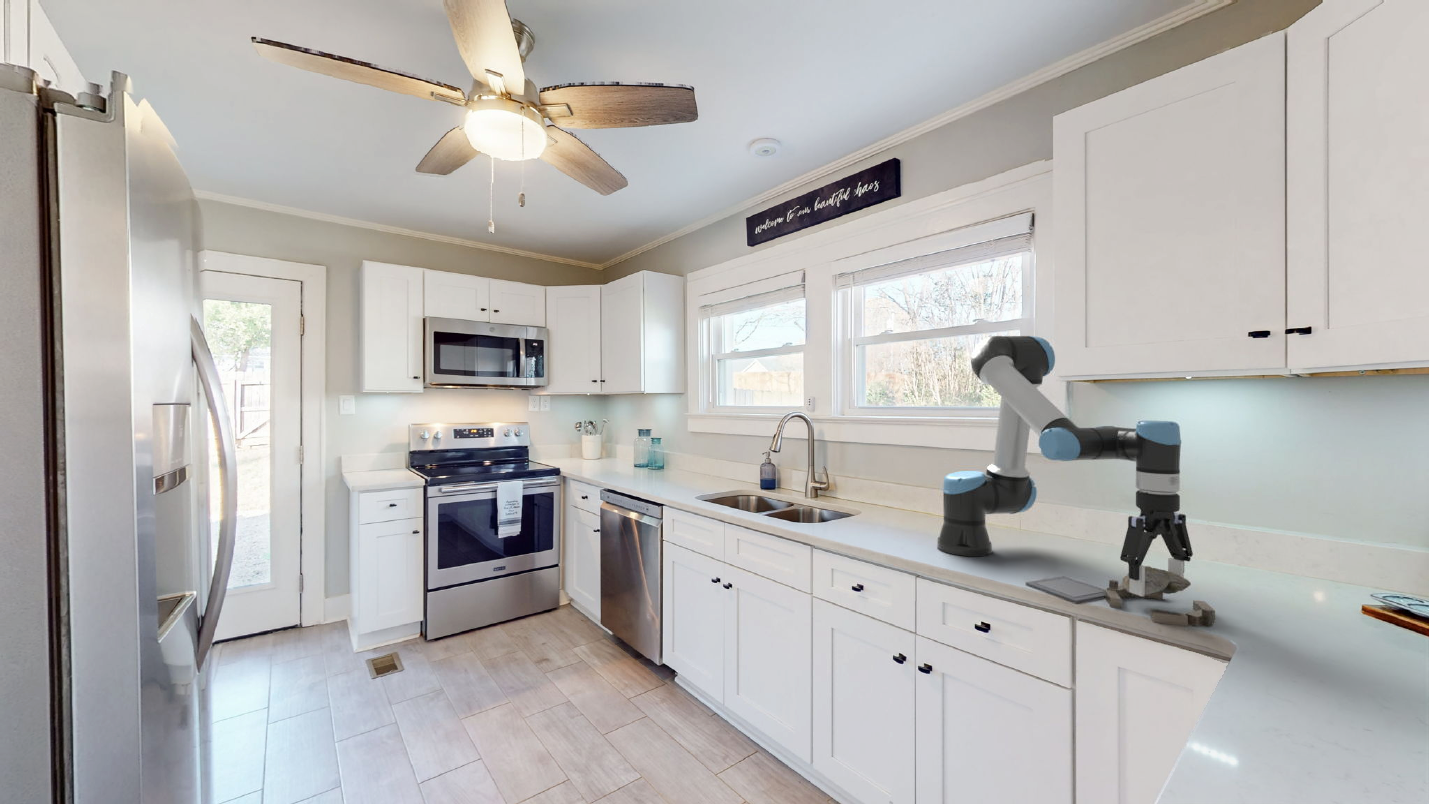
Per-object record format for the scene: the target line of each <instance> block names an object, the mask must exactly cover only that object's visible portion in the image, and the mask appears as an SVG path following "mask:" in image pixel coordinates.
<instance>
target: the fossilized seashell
mask: <svg viewBox="0 0 1429 804" xmlns="http://www.w3.org/2000/svg"><path fill="white" fill-rule="evenodd" d="M1144 566H1145V565H1144ZM1191 584H1192V583H1191V581H1189V580H1188V579H1187V578H1185V577H1184V578H1183V577H1181V576H1179V575H1177V574H1174V573H1171V572H1168V570H1165V569H1159V568H1155V567H1151V566H1149V565H1148V566H1147V565H1146V566H1145V595H1151V594H1155V593H1159V594H1162V593H1163V594H1167V595H1168V594H1176V593H1177V592H1182V591H1181V590H1186V589H1188V588H1189V586H1191ZM1121 585H1122V587H1123V589H1124V590H1126V591H1127V592H1128V593H1130V592H1129V585H1130V578H1129V572H1128V573H1127V574H1126V575H1125V576H1124V577H1123V578H1122V580H1121ZM1132 594H1133V593H1132Z"/></svg>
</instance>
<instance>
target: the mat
mask: <svg viewBox="0 0 1429 804" xmlns="http://www.w3.org/2000/svg"><path fill="white" fill-rule="evenodd" d="M1025 586H1027V587H1031V588H1033V589H1036V590H1038V591H1041V592H1043V593H1047V594H1049V595H1052V596H1055V597H1057V598H1060V599H1062V600H1065V601H1068V602H1071V603H1074V604H1080V603H1084V602H1091V601H1095V600H1096V601H1097V600H1101V599H1105V590H1106V589H1103V588H1101V587H1098V586H1095V585H1092V584H1088V583H1086V582H1083V581H1079V580H1077V579H1074V578H1070V577H1067V576H1064V575H1062V576H1057V577H1056V576H1055V577H1050V578H1044V579H1038V580H1033V581H1027V582H1026V581H1025Z"/></svg>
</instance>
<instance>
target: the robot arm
mask: <svg viewBox="0 0 1429 804" xmlns="http://www.w3.org/2000/svg"><path fill="white" fill-rule="evenodd" d="M970 364H971V368H972V371H973V372H974V375H975V376H976V377H977V378H978V379H979V380H980V382H981V383H982V384H984V385H987V386H991V388H993V390H995V392H996V393H998V395H999V396H1000V402H999V403H1000V405H999V412H998V413H999V414H998V419H997V428H996V435H995V436H996V437H995V444H994V453H993V459H992V460H993V461H992V463H990V464H989V465H987V467H986V473H985V472H983V471H979V470H968V471H967V470H963V471H955V472H950V473H948V474H947V475H945V477H944V478H943V484H942V485H943V487H942V492H943V499H942V500H943V504H942V505H943V523H942V526H941V530H940V533H939V536H938V537H937V545H936V547H937V548H938V549H939V550H940V551H942V552H944V553H948V554H952V555H956V556H957V555H958V556H964V557H986V556H989V555H991V554H992V553H993V544H992V542H991V541H990V537H989V534H988V533H989V532H988V529H987V526H986V515H994V514H995V515H998V514H999V515H1002V514H1003V515H1004V514H1009V515H1010V514H1011V515H1014V514H1017V513H1024V512H1027V511H1029V509H1031V508H1032V507H1033V505H1034V504H1035V502H1036V498H1037V493H1038V491H1037V490H1038V489H1037V487H1036V486H1035V485H1036V483H1035V481H1034V479H1032V477H1030V474H1031V473H1030V472H1029V471H1028V469H1027V468H1026V461H1027V454H1028V453H1027V452H1028V446H1029V445H1028V444H1029V439H1030V438H1029V437H1030V430H1031V429H1032V430H1033V432H1034V433H1036V435H1037V436H1038V447H1039V448H1040V453H1041V455H1043V457H1044V458H1047V459H1048V460H1051V461H1060V462H1072V461H1087V460H1088V461H1091V460H1093V461H1095V460H1097V461H1098V460H1100V461H1101V460H1123V461H1129V462H1135V488H1136V489H1137V490H1136V491H1135V506H1136V507H1137V508H1138V509H1139V511H1140V513H1139V516H1132V515H1129V516H1128V518H1127V523H1128V524H1127V530H1126V534H1125V537H1124V541H1123V545H1122V549H1121V553H1120V561H1122V562H1125V563H1128V573H1129V578H1130V585H1129V592H1130V593H1133V594H1136V595H1139V596H1145V565H1143V561H1144V559H1146V555H1147V554H1148V551H1149V549H1150V547H1151V545H1152V544H1153V543H1152V542H1153V541H1154V540H1156V539H1157V538H1158V536H1161V538H1162V539H1163V540H1162V541H1163V542H1164V544H1165V546H1166V548H1167V551H1168V552H1169V554H1170V556H1171V557H1168V558H1167V559H1168V560H1167V564H1168V565H1167V567H1168V568H1167V571H1168V572H1171V573H1174V574H1177V575H1179V576H1181V577H1183V578H1185V561H1186V562H1187V563H1188V562H1191V560H1192V557H1193V554H1194V553H1193V548H1192V545H1191V539H1190V537H1189V533H1188V532H1189V531H1188V529H1187V528H1188V527H1187V523H1186V522H1187V516H1186V514H1183V513H1180V512H1179V511H1180V509H1181V505H1180V504H1181V496H1180V494H1179V493H1178V492H1180V491H1181V490H1180V489H1181V488H1180V485H1181V483H1180V482H1181V481H1180V478H1181V477H1180V473H1181V469H1180V467H1181V465H1180V464H1181V463H1180V462H1181V446H1182V440H1181V428H1180V425H1179V423H1178V422H1175V421H1171V420H1139V421H1137V423H1136V427H1135V428H1131V427H1118V426H1117V427H1116V426H1113V425H1102V426H1100V425H1099V426H1095V427H1079V426H1077V425H1076V424H1075V423H1074V422H1073V421H1072V420H1070V418H1069V417H1068V416H1066V414H1064V413H1063V412H1062V411H1061V410H1060V409H1059V408H1058V407H1057V406H1056V405H1055V404H1054V403H1053V402H1052V401H1051V400H1049V399H1048V398H1047V397H1046V396H1045V394H1044V393H1042V392H1041V391H1040V390H1039V389H1038V388H1039V387H1040V386H1041V385H1043V379H1044V377H1046V376H1048V375H1050V373H1051V372H1052V371H1053V369H1054V367H1055V364H1056V355H1055V350H1054V349H1053V346H1052V345H1051V344H1050V343H1049V342H1048V341H1047V340H1046V339H1045V338H1043V337H1039V336H1033V335H1032V336H1031V335H1013V336H1012V335H993V336H990V337H989V336H988V337H987V338H984V339H983V340H981V341H979V342H978V343H977V344H976V345H975V347H974V349H973V350H972V353H971V357H970ZM1178 512H1179V513H1178ZM1184 590H1185V589H1184ZM1184 590H1181V591H1180V592H1183V591H1184Z"/></svg>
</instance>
